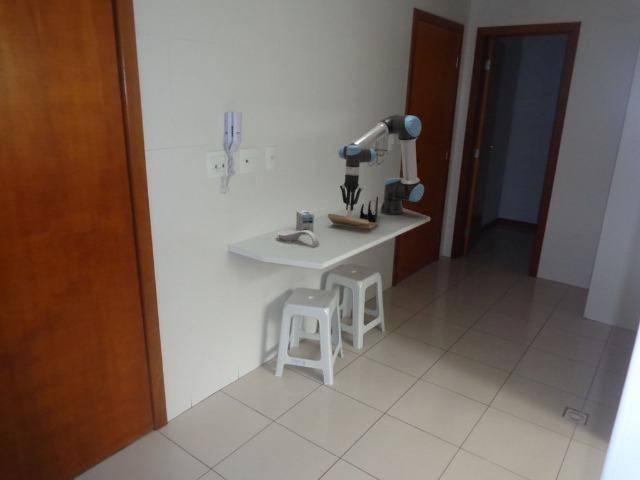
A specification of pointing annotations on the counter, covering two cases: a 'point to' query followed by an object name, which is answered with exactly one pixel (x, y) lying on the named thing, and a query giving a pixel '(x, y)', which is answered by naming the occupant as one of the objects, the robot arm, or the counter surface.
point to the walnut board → (374, 225)
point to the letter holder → (369, 213)
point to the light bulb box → (304, 220)
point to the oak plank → (350, 221)
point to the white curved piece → (297, 236)
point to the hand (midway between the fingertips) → (349, 215)
